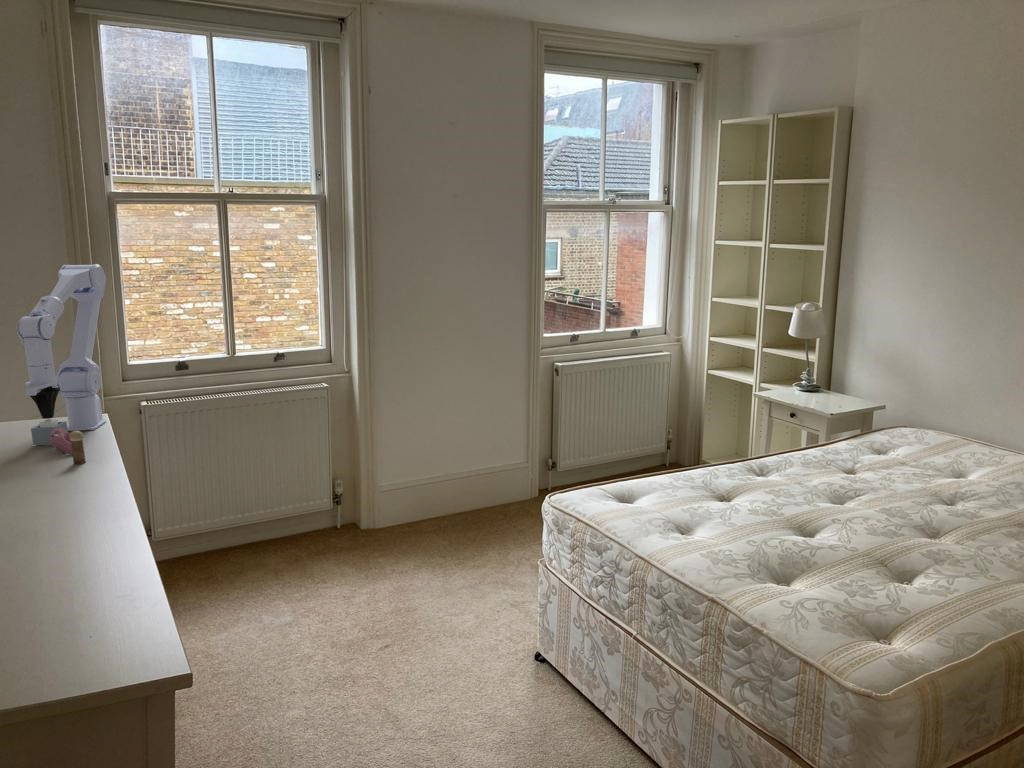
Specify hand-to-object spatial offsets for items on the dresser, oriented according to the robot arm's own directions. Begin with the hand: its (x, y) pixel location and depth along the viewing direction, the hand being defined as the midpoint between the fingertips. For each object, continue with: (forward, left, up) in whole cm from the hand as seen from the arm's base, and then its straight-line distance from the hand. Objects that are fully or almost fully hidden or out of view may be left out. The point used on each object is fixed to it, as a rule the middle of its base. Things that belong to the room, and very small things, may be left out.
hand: (48, 417), depth 206 cm
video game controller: (+9, +7, -7) cm, 13 cm away
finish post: (+21, +14, -6) cm, 26 cm away
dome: (0, 0, -4) cm, 4 cm away
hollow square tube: (0, 0, -6) cm, 6 cm away
